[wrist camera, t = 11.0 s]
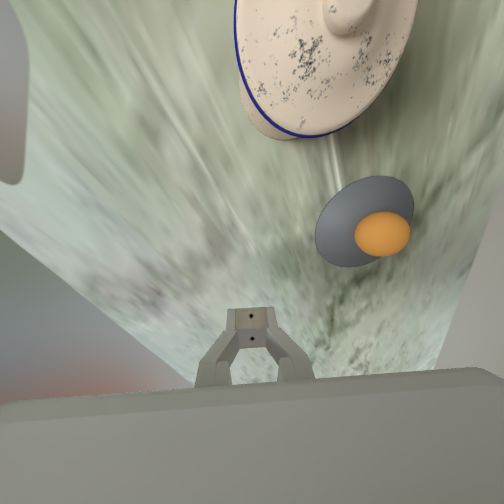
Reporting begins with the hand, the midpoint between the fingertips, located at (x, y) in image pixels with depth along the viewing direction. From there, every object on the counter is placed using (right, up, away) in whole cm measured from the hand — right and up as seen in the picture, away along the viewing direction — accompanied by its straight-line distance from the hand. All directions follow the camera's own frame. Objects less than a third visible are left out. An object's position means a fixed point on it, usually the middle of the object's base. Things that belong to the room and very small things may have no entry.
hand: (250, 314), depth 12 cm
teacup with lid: (+3, +21, +4) cm, 22 cm away
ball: (+16, +6, +10) cm, 20 cm away
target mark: (+15, +8, +12) cm, 21 cm away
